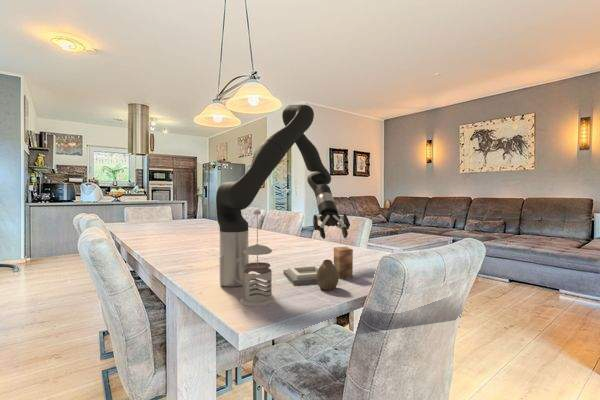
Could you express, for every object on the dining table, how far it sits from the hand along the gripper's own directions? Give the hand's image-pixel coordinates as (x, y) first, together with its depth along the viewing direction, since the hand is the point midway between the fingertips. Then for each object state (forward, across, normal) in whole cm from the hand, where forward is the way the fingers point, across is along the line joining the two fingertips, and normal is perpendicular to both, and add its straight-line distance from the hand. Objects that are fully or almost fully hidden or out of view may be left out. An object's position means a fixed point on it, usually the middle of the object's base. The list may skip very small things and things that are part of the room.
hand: (335, 237), depth 118 cm
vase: (+24, -9, -6) cm, 26 cm away
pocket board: (+15, -13, +3) cm, 20 cm away
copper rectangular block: (+15, 0, +3) cm, 16 cm away
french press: (+28, -32, -10) cm, 44 cm away
